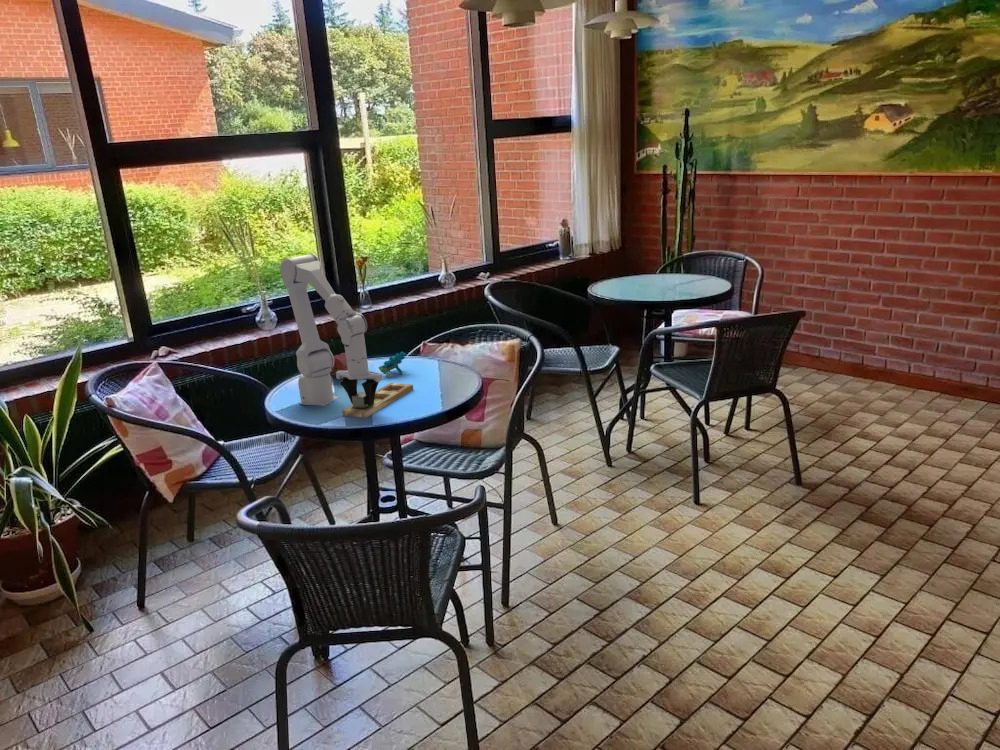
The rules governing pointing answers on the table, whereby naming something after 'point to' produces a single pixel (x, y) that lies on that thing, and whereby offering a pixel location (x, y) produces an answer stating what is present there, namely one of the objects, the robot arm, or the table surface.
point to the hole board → (380, 399)
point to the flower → (339, 364)
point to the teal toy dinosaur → (392, 363)
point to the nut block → (360, 401)
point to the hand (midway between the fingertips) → (362, 403)
